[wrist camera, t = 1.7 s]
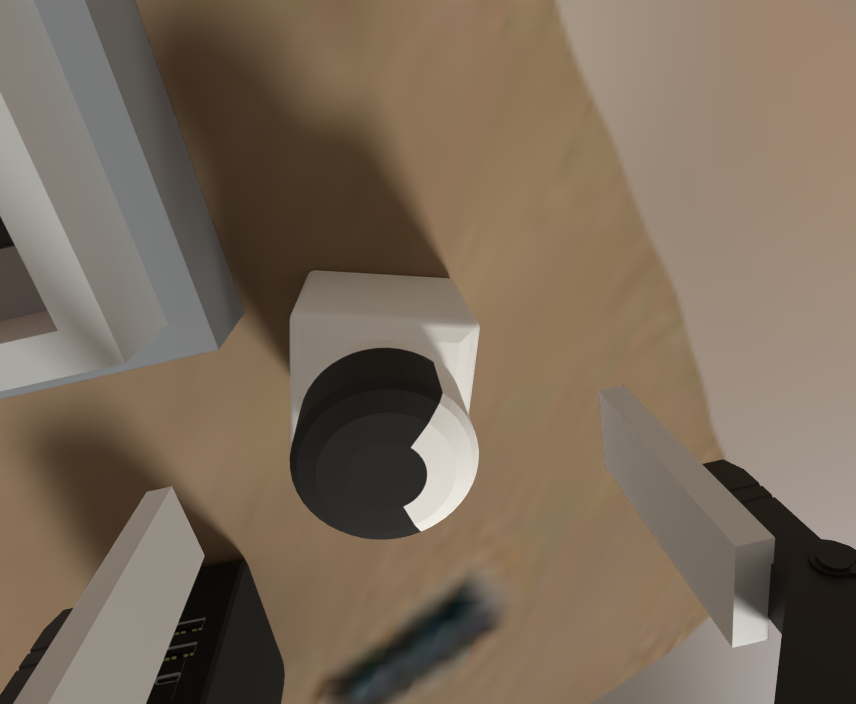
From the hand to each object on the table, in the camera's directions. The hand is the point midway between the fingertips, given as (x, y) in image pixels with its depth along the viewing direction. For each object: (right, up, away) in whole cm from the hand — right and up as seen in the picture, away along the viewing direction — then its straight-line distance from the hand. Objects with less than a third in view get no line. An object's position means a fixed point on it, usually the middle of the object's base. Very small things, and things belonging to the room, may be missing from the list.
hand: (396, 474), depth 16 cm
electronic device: (-11, -13, +17) cm, 24 cm away
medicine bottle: (-2, +4, +11) cm, 12 cm away
